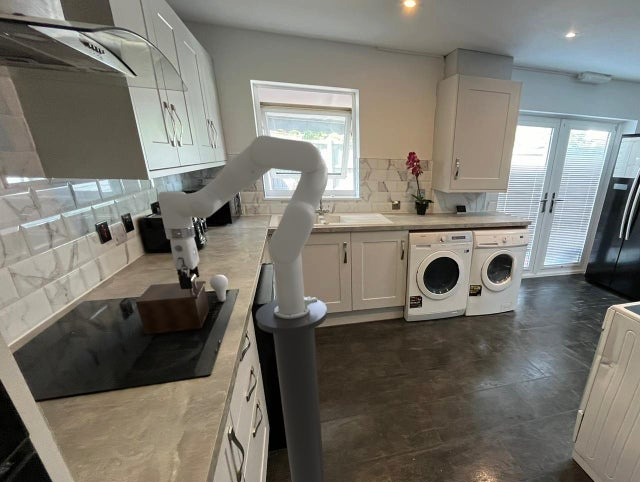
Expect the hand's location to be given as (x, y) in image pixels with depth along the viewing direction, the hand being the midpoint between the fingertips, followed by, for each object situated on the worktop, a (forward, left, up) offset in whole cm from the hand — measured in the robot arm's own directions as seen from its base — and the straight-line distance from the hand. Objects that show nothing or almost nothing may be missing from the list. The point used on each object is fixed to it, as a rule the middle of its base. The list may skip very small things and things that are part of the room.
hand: (190, 282), depth 107 cm
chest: (+5, -2, -14) cm, 15 cm away
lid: (+5, -2, -3) cm, 6 cm away
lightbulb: (-10, -11, -14) cm, 20 cm away
